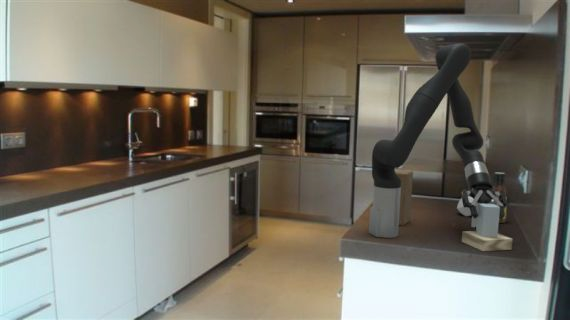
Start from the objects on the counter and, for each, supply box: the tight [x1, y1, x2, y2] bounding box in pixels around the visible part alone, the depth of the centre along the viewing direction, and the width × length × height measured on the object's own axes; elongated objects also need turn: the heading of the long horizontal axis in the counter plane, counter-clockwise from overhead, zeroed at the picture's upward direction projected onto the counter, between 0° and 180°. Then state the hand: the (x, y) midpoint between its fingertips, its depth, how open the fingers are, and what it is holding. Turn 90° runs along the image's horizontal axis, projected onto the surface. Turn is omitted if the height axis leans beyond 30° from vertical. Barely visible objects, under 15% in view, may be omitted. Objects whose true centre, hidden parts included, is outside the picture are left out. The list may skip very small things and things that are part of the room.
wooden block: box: [395, 168, 414, 227], centre depth 191 cm, size 10×10×20 cm
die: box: [456, 195, 474, 217], centre depth 207 cm, size 8×9×10 cm
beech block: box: [461, 230, 514, 252], centre depth 163 cm, size 11×11×4 cm
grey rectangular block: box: [475, 204, 500, 237], centre depth 162 cm, size 5×5×10 cm
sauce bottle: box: [492, 171, 508, 224], centre depth 196 cm, size 7×6×20 cm
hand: (489, 217), depth 161 cm, fingers open, 8 cm apart
